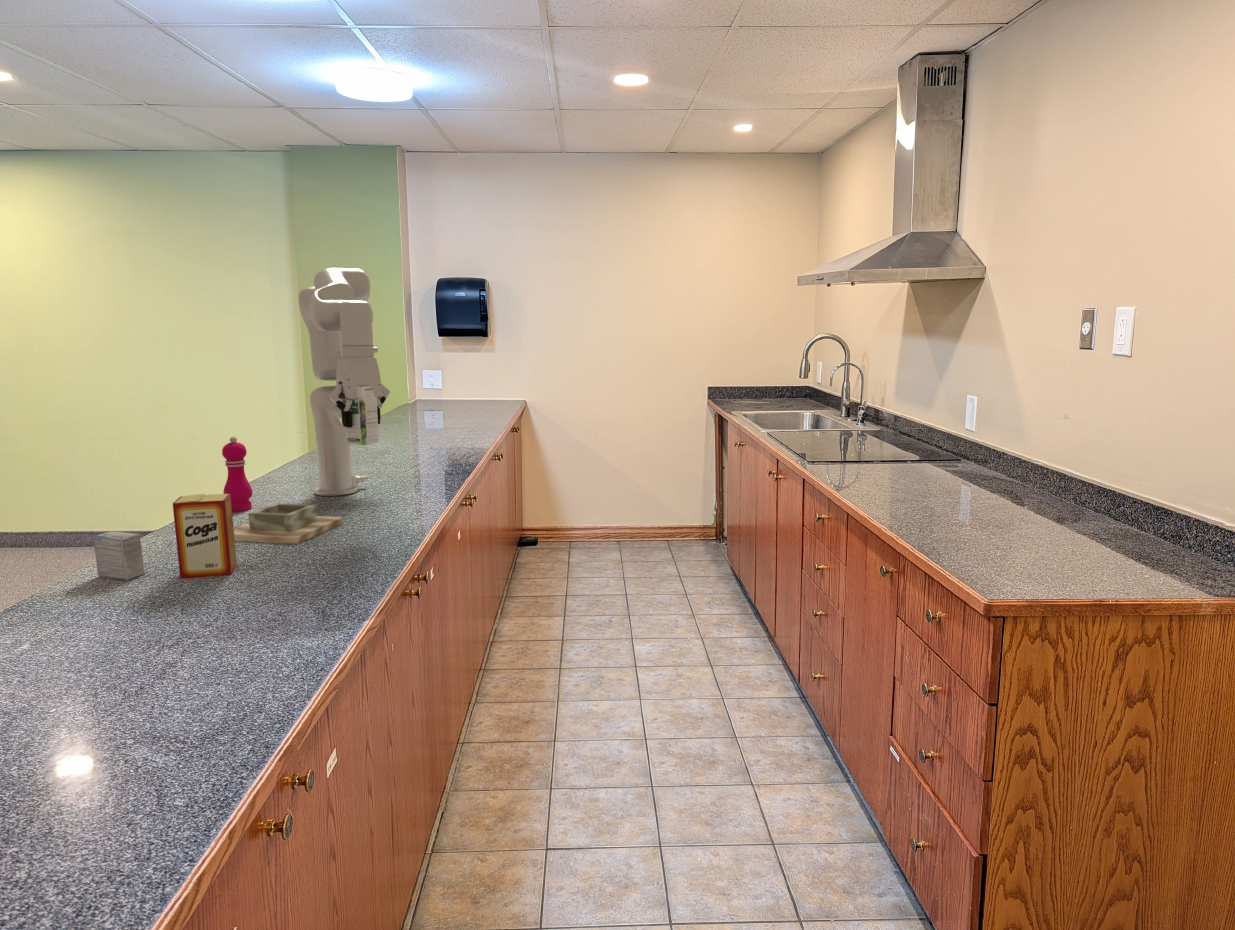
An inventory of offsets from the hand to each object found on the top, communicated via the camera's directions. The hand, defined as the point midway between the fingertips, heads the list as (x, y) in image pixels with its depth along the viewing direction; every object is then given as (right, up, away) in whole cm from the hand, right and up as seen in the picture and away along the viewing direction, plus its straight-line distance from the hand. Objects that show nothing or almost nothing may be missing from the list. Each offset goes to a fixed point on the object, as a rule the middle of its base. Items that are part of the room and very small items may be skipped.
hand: (361, 424), depth 206 cm
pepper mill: (-40, -22, +22) cm, 51 cm away
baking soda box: (-21, -32, -33) cm, 51 cm away
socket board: (-19, -26, -1) cm, 32 cm away
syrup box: (0, -5, +1) cm, 5 cm away
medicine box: (-38, -33, -36) cm, 62 cm away
